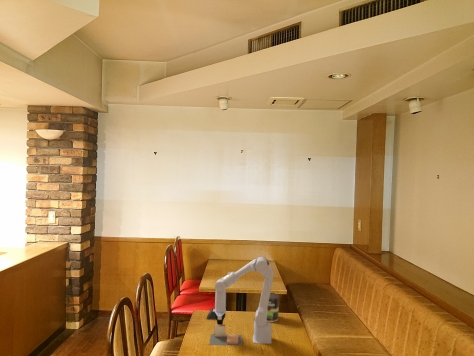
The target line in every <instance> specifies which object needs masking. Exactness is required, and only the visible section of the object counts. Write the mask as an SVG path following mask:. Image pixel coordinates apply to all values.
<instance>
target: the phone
mask: <svg viewBox="0 0 474 356" xmlns="http://www.w3.org/2000/svg"><path fill="white" fill-rule="evenodd" d="M213 309H215V307H214V308H210V309H209V312H208V314H207V316H206V317H205V319H206V320H209V321H217V320H216V318H215V312H213Z"/></svg>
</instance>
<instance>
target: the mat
mask: <svg viewBox="0 0 474 356" xmlns="http://www.w3.org/2000/svg"><path fill="white" fill-rule="evenodd" d="M227 334H228V333H225V337H214V333H210V335H209V344H208V345H209V346H243V335H242V334H237V335H238V344H227ZM229 334H230V333H229ZM230 335H234V333H233V334H230Z"/></svg>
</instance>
